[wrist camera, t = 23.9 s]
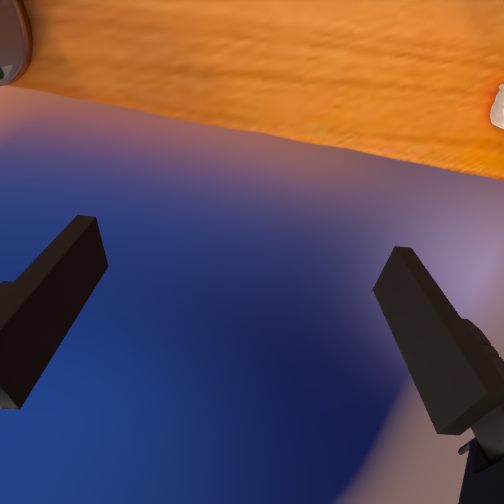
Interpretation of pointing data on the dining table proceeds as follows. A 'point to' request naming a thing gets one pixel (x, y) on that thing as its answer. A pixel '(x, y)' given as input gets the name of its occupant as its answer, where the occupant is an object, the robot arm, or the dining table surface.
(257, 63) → the dining table surface
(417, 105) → the dining table surface
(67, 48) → the dining table surface
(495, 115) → the pale veined leaf
